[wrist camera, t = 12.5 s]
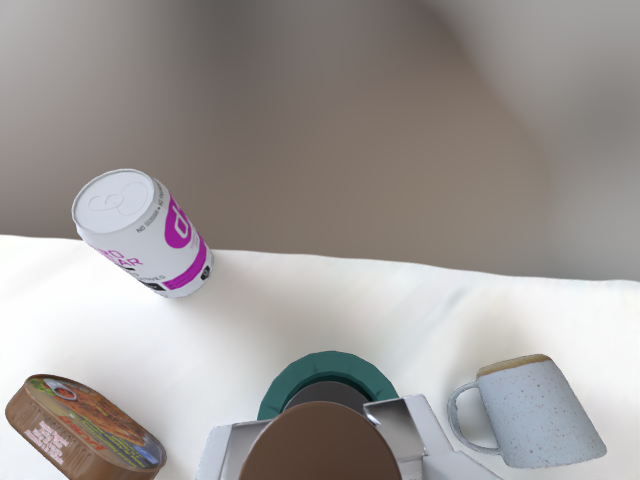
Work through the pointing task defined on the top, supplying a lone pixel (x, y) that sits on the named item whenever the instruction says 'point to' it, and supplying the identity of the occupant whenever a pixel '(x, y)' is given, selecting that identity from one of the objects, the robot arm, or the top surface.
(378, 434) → the dish brush
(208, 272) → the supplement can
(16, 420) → the tin
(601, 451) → the ceramic mug
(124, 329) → the top surface
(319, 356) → the teal pen holder
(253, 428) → the robot arm
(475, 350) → the top surface
